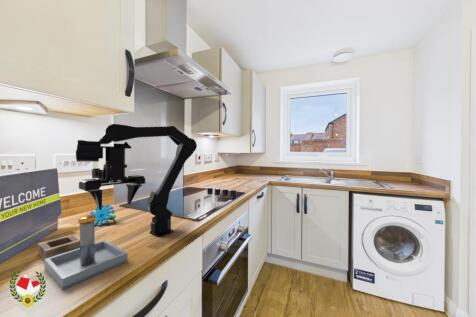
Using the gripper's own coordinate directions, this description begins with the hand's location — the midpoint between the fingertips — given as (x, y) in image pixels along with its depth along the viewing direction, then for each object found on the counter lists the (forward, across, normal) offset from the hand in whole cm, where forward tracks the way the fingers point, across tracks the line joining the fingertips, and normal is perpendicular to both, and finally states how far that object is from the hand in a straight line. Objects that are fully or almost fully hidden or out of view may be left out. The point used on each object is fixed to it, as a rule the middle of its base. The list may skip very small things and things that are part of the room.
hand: (115, 206), depth 67 cm
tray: (+12, +11, +9) cm, 19 cm away
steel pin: (+11, +11, +9) cm, 18 cm away
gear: (+12, -5, -22) cm, 26 cm away
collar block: (+12, +13, -6) cm, 19 cm away
